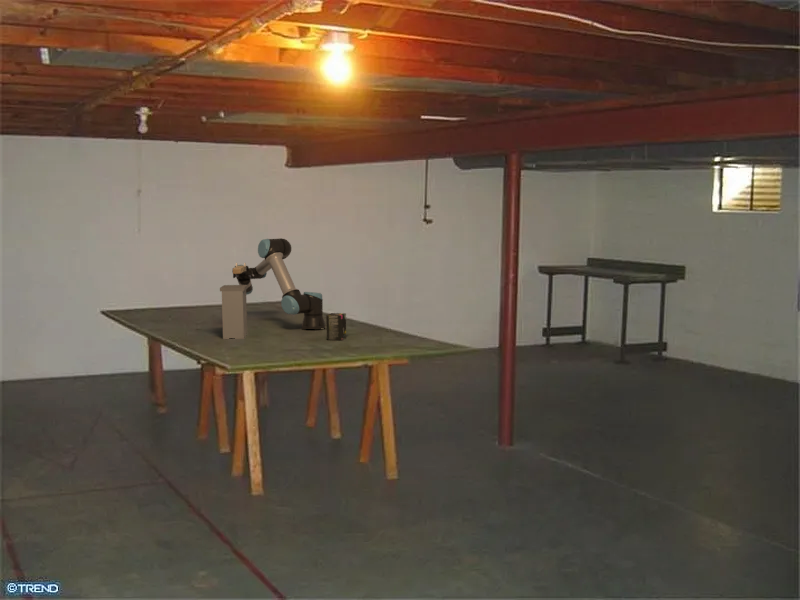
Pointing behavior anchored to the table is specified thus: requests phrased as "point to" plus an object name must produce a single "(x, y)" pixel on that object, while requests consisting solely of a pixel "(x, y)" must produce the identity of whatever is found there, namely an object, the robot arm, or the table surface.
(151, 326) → the table surface
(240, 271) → the birch strip
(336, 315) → the tampon box
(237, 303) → the grey stand
